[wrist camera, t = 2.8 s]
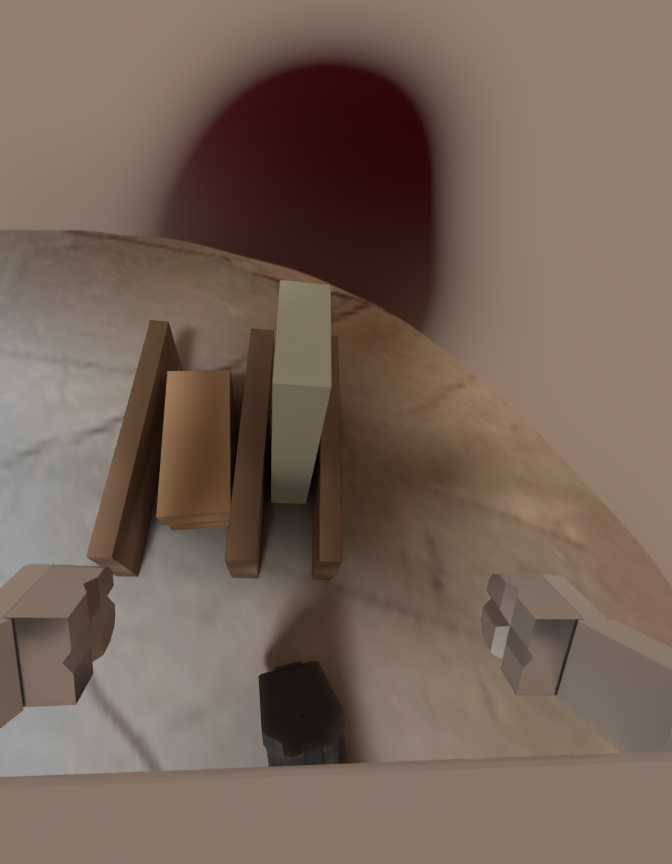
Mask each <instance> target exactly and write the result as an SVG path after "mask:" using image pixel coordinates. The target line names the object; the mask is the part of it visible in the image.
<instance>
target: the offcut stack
mask: <svg viewBox="0 0 672 864" xmlns="http://www.w3.org/2000/svg"><path fill="white" fill-rule="evenodd" d="M234 474H235V456H234V398H233V390H232V376H231V372H230V371H229V370H214V371H167V384H166V397H165V410H164V423H163V436H162V449H161V462H160V475H159V488H158V501H157V514H156V517H157V519H158V520H159V521H160V523H161V524H162V525H169V527H170V528H171V530H184V529H196V528H208V527H221V526H229V518H230V509H231V501H232V492H233V483H234Z"/></svg>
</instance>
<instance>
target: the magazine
mask: <svg viewBox="0 0 672 864" xmlns="http://www.w3.org/2000/svg"><path fill="white" fill-rule="evenodd" d="M274 669H275V671H271V672H267V673H263V674H261V675H259V691H260V709H261V726H262V737H263V745H264V746H265V747H266V749H267V756H268V764H269V767H274V766H298V765H323V764H348V757H347V751H346V744H345V738H344V732H343V727H344V717H343V710H342V707H341V705H340V703H339V701H338V699H337V697H336V695H335V694H334V692H333V690H332V688H331V686H330V684H329V682H328V680H327V678H326V676H325V674H324V672H323V671H322V669H321V667H320V665H319V663H318V661H312V662H308V663H303V664H302V662H301V661H299V662H295V663H291V664H287V665H283V666H279V667H275V668H274Z"/></svg>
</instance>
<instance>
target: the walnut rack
mask: <svg viewBox="0 0 672 864" xmlns="http://www.w3.org/2000/svg"><path fill="white" fill-rule="evenodd" d="M273 354H274V331H272V330H260V329H251V333H250V342H249V351H248V360H247V368H246V377H245V386H244V395H243V404H242V412H241V421H240V430H239V439H238V448H237V457H236V465H235V474H234V483H233V492H232V501H231V509H230V518H229V527H228V536H227V545H226V554H225V561H226V564H227V566H228V569H229V571H230V574H231V577H232V578H258V571H259V557H260V544H261V531H262V517H263V504H264V490H265V477H266V463H267V450H268V437H269V423H270V410H271V396H272V383H273ZM167 371H181V364H180V360H179V357H178V353H177V350H176V346H175V343H174V339H173V336H172V332H171V329H170V325H169V322H166V321H155V320H150V323H149V327H148V331H147V334H146V338H145V342H144V345H143V349H142V353H141V357H140V360H139V364H138V368H137V371H136V375H135V379H134V382H133V386H132V390H131V393H130V397H129V401H128V405H127V408H126V412H125V416H124V419H123V423H122V427H121V430H120V434H119V438H118V441H117V445H116V449H115V453H114V456H113V460H112V464H111V467H110V471H109V475H108V478H107V482H106V486H105V489H104V493H103V497H102V501H101V504H100V508H99V512H98V515H97V519H96V523H95V526H94V530H93V534H92V537H91V541H90V545H89V549H88V552H87V556H86V557H87V558H89V559H90V560H92V561H93V562H95V563H97V564H98V565H100V566H103V567H109V568H110V569H111V570H112V573H113V574H114V575H116V576H134V577H138V573H139V568H140V563H141V558H142V554H143V549H144V544H145V539H146V534H147V530H148V525H149V520H150V515H151V510H152V506H153V501H154V496H155V491H156V486H157V481H158V477H159V472H160V462H161V449H162V436H163V423H164V410H165V397H166V384H167ZM341 563H342V522H341V470H340V418H339V366H338V336H331V392H330V396H329V401H328V405H327V410H326V414H325V419H324V424H323V428H322V433H321V437H320V442H319V446H318V451H317V455H316V460H315V464H314V474H313V542H312V579H331V578H332V576H333V575H334V573H335V572H336V570H337V569H338V567H339V566H340V564H341Z"/></svg>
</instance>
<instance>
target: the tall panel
mask: <svg viewBox="0 0 672 864" xmlns="http://www.w3.org/2000/svg"><path fill="white" fill-rule="evenodd" d="M330 392H331V285H326V284H316V283H306V282H296V281H286V280H280V289H279V302H278V316H277V329H276V342H275V356H274V369H273V383H272V460H271V503H295V504H306V501H307V496H308V492H309V487H310V483H311V478H312V474H313V469H314V464H315V460H316V455H317V451H318V446H319V442H320V437H321V433H322V428H323V424H324V419H325V414H326V410H327V405H328V401H329V396H330Z"/></svg>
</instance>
